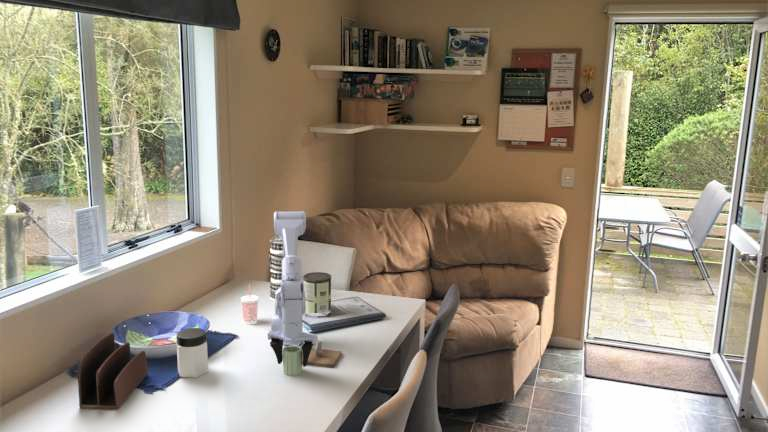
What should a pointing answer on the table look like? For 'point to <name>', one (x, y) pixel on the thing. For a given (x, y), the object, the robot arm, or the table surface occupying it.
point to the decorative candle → (275, 265)
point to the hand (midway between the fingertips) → (292, 363)
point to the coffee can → (317, 292)
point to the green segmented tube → (292, 360)
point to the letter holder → (108, 374)
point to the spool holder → (323, 356)
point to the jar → (192, 352)
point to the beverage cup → (250, 308)
